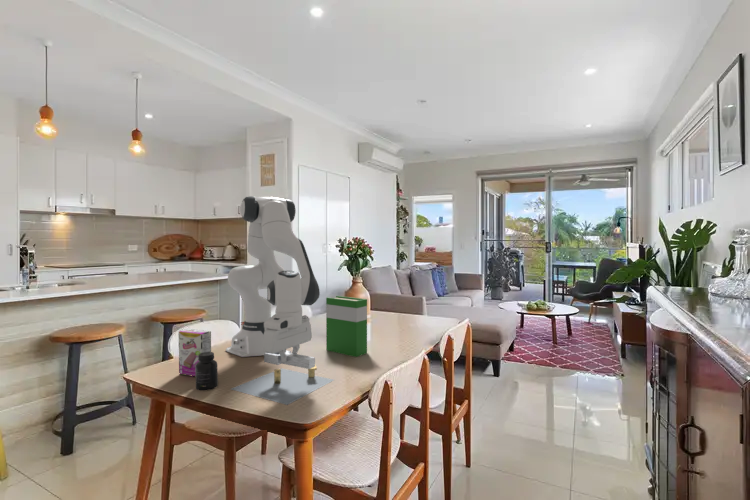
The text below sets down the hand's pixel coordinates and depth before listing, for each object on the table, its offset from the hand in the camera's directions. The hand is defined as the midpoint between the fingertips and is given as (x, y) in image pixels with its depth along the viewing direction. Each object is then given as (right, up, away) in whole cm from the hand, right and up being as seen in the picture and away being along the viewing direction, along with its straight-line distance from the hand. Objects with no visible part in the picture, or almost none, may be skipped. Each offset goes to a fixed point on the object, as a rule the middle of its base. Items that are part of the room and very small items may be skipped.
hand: (289, 360), depth 131 cm
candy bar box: (-38, -9, +13) cm, 41 cm away
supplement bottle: (-28, -10, -1) cm, 29 cm away
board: (-2, -10, +1) cm, 10 cm away
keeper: (+6, -9, +7) cm, 13 cm away
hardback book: (+16, -9, +43) cm, 47 cm away
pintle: (-5, -9, +3) cm, 10 cm away
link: (+1, -1, 0) cm, 1 cm away
